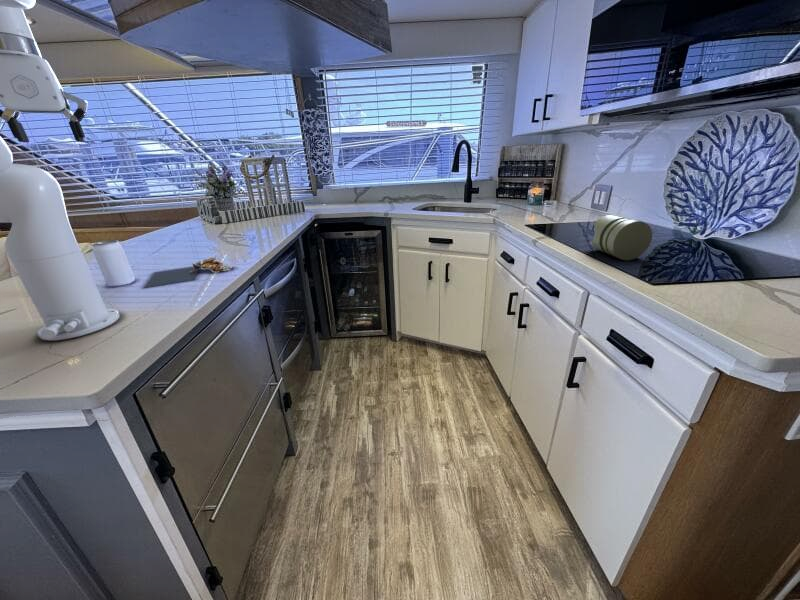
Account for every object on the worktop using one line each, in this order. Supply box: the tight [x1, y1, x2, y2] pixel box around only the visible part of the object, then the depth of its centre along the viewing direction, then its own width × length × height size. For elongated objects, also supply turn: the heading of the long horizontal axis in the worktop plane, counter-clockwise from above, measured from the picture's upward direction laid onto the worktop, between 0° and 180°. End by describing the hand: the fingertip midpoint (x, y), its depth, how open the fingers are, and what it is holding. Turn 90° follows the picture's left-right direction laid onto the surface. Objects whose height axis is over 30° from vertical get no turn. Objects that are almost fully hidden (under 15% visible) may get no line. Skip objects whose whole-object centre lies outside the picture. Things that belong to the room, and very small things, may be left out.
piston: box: [588, 214, 653, 261], centre depth 98 cm, size 11×12×11 cm
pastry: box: [190, 256, 234, 275], centre depth 101 cm, size 7×12×4 cm, turn 92°
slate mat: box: [143, 266, 197, 289], centre depth 98 cm, size 16×12×1 cm
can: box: [91, 239, 136, 288], centre depth 91 cm, size 6×6×12 cm
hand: (53, 141), depth 73 cm, fingers open, 9 cm apart
